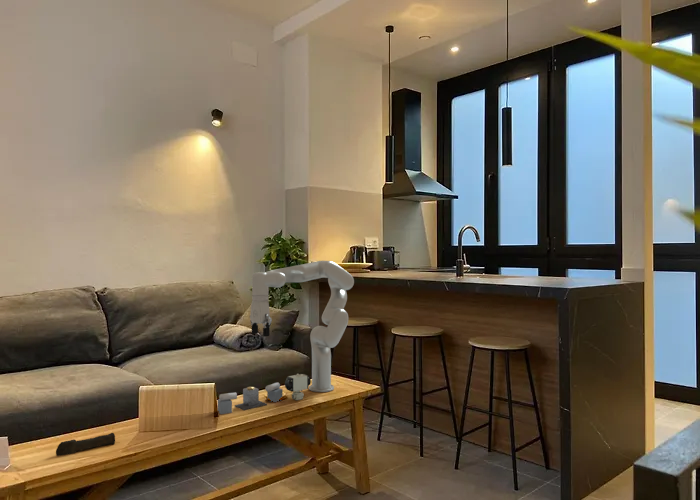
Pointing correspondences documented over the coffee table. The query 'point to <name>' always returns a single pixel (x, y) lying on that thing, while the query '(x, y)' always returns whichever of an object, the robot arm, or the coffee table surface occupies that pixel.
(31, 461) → the coffee table surface
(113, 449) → the coffee table surface
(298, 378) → the pneumatic valve
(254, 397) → the block
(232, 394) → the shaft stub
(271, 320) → the robot arm
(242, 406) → the pad
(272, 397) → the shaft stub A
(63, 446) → the hand tool
